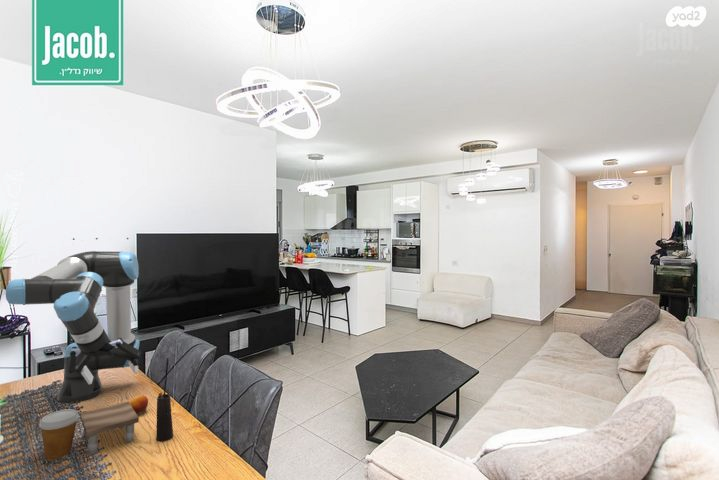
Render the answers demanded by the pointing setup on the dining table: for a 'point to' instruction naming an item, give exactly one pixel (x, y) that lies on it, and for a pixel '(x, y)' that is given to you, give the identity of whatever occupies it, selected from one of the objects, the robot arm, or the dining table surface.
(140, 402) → the fruit
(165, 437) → the butter churn
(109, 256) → the robot arm
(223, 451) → the dining table surface
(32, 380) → the dining table surface
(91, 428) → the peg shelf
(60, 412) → the disposable coffee cup
